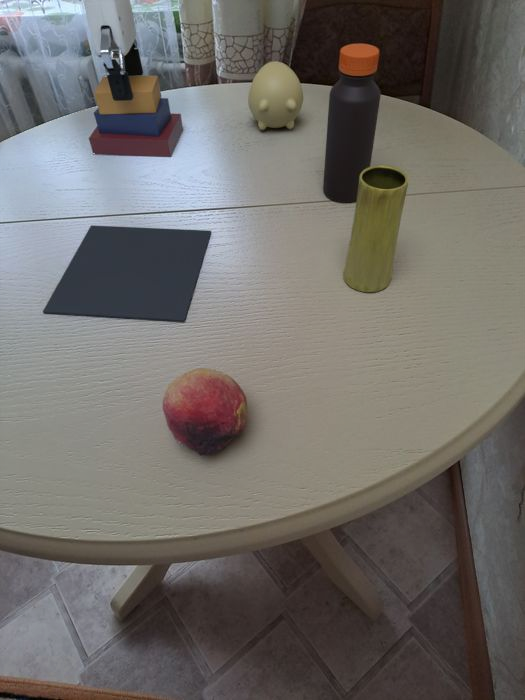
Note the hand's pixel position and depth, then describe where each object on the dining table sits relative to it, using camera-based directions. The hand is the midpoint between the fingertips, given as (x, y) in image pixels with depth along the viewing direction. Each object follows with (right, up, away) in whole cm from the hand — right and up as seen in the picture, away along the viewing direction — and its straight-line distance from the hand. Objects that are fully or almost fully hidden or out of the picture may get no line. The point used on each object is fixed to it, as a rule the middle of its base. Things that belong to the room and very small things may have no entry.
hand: (129, 87), depth 84 cm
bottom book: (0, -6, +7) cm, 9 cm away
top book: (0, -2, +2) cm, 3 cm away
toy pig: (+25, -2, +10) cm, 27 cm away
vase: (+36, -35, -18) cm, 53 cm away
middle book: (0, -4, +5) cm, 6 cm away
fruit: (+17, -53, -33) cm, 64 cm away
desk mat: (+5, -33, -16) cm, 37 cm away
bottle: (+35, -19, -5) cm, 40 cm away
